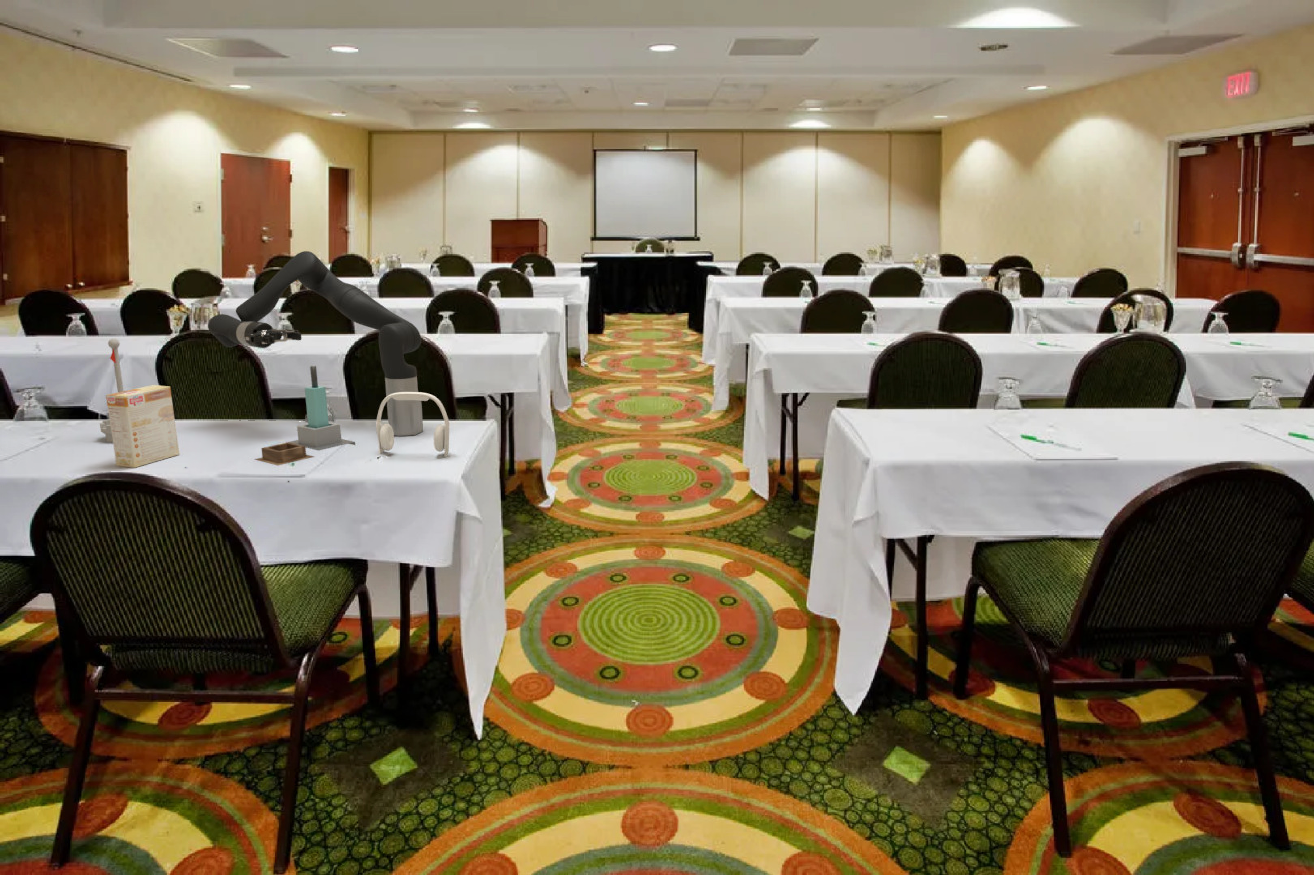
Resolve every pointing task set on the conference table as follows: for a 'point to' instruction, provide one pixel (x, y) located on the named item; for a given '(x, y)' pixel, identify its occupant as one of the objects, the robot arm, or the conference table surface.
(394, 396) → the headset
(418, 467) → the conference table surface
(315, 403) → the plug
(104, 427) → the flag stand
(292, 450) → the brown open square box
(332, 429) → the box
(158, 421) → the coffeecake box
